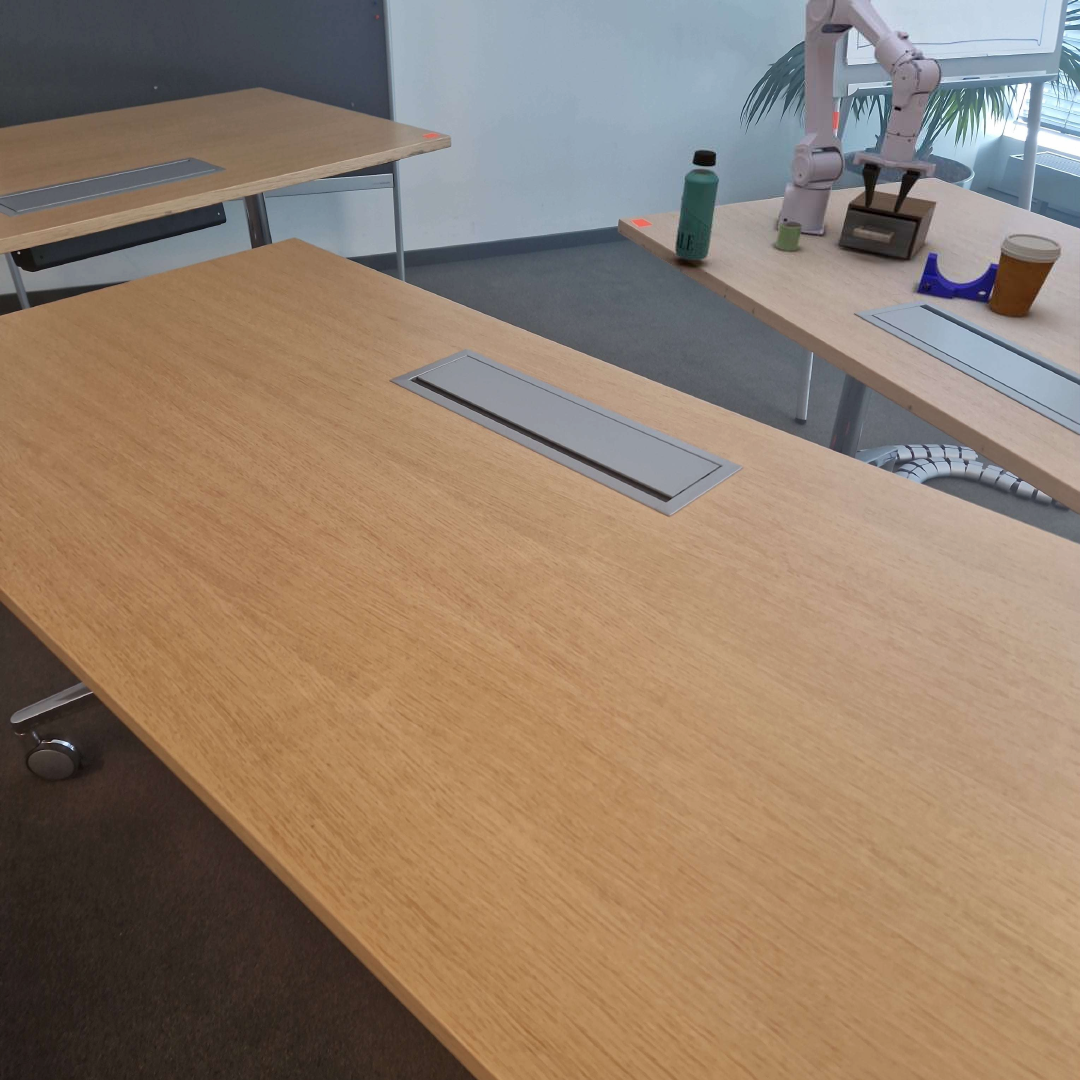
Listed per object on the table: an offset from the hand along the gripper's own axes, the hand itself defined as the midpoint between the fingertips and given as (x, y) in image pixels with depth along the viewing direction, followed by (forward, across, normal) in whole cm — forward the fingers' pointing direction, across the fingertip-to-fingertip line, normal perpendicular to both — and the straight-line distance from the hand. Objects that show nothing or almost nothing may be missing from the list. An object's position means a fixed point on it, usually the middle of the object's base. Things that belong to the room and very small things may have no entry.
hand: (881, 208), depth 170 cm
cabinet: (+9, 0, +10) cm, 14 cm away
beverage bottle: (+10, -28, -26) cm, 39 cm away
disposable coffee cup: (+10, +28, -13) cm, 32 cm away
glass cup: (+9, -16, -5) cm, 19 cm away
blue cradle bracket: (+10, +18, -11) cm, 24 cm away
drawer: (+9, 0, +5) cm, 10 cm away
